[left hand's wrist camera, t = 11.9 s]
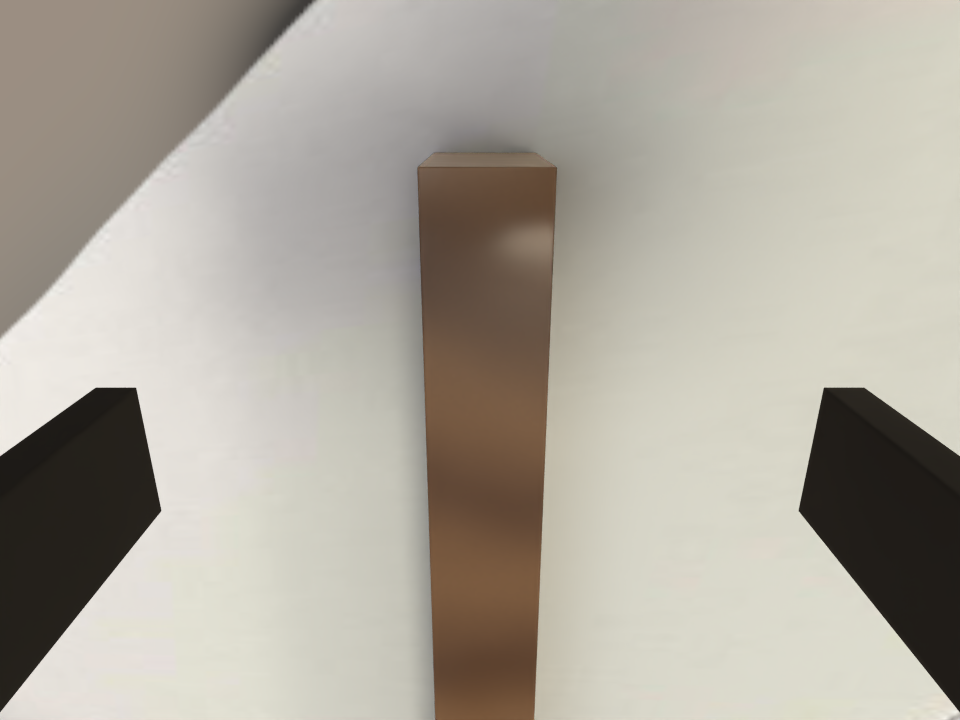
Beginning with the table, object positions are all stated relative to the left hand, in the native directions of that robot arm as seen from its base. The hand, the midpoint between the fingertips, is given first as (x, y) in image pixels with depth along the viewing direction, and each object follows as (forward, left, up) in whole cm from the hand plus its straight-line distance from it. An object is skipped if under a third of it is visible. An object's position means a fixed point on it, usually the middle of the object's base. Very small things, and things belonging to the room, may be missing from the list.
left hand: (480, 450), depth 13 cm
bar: (+23, +26, -20) cm, 40 cm away
